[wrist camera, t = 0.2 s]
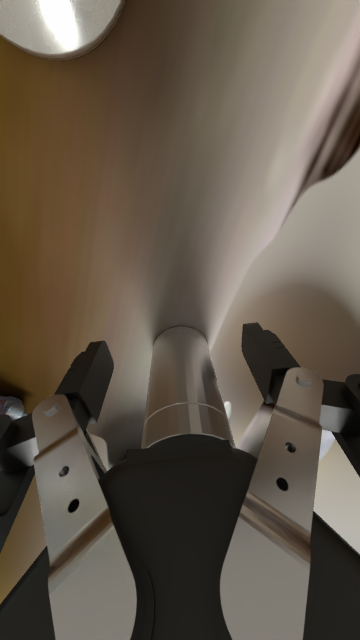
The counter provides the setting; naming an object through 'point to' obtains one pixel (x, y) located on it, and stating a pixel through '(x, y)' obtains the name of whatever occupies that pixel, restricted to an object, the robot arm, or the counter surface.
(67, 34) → the dish
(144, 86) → the counter surface
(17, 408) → the grey and red figurine
